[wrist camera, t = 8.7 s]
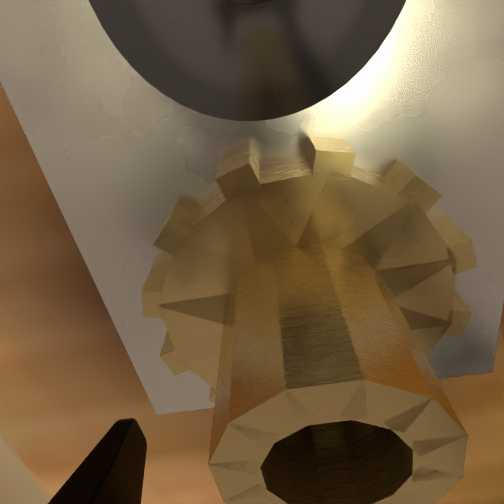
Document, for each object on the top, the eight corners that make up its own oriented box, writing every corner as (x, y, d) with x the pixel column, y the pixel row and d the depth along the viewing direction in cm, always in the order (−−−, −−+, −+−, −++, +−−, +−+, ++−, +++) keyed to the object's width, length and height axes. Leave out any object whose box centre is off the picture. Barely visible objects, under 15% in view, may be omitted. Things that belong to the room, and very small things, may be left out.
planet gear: (464, 106, 11) (709, 189, 5) (445, 371, 15) (556, 567, 10) (109, 174, 12) (-31, 309, 6) (197, 403, 16) (167, 598, 11)
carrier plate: (579, -475, 7) (1204, -1451, 2) (477, 350, 16) (562, 470, 12) (-120, -249, 8) (-580, -602, 4) (162, 392, 18) (131, 514, 13)
